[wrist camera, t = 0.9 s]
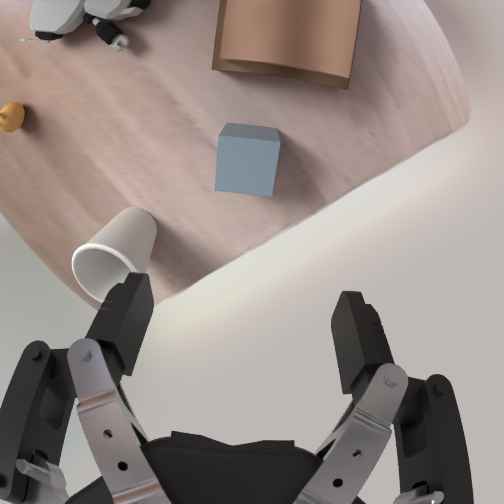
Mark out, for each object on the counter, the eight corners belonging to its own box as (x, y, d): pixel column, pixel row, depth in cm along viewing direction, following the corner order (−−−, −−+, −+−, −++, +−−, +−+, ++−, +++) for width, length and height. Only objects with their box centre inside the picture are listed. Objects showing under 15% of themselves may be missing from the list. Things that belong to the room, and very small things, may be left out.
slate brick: (222, 168, 29) (214, 190, 24) (226, 122, 26) (218, 135, 21) (269, 173, 29) (271, 196, 24) (276, 128, 26) (280, 142, 22)
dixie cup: (161, 261, 37) (138, 317, 29) (106, 241, 35) (73, 292, 27) (174, 209, 32) (147, 262, 24) (111, 188, 30) (69, 234, 22)
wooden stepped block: (216, 70, 23) (205, 69, 18) (230, -33, 16) (223, -55, 11) (339, 87, 23) (358, 92, 18) (353, -13, 16) (375, -28, 11)
